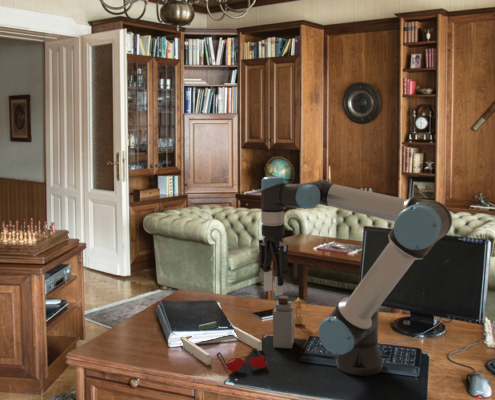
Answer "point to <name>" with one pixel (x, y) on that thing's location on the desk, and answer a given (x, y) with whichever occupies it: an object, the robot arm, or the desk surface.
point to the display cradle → (205, 356)
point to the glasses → (239, 362)
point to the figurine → (298, 318)
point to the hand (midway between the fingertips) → (273, 292)
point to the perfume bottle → (283, 323)
